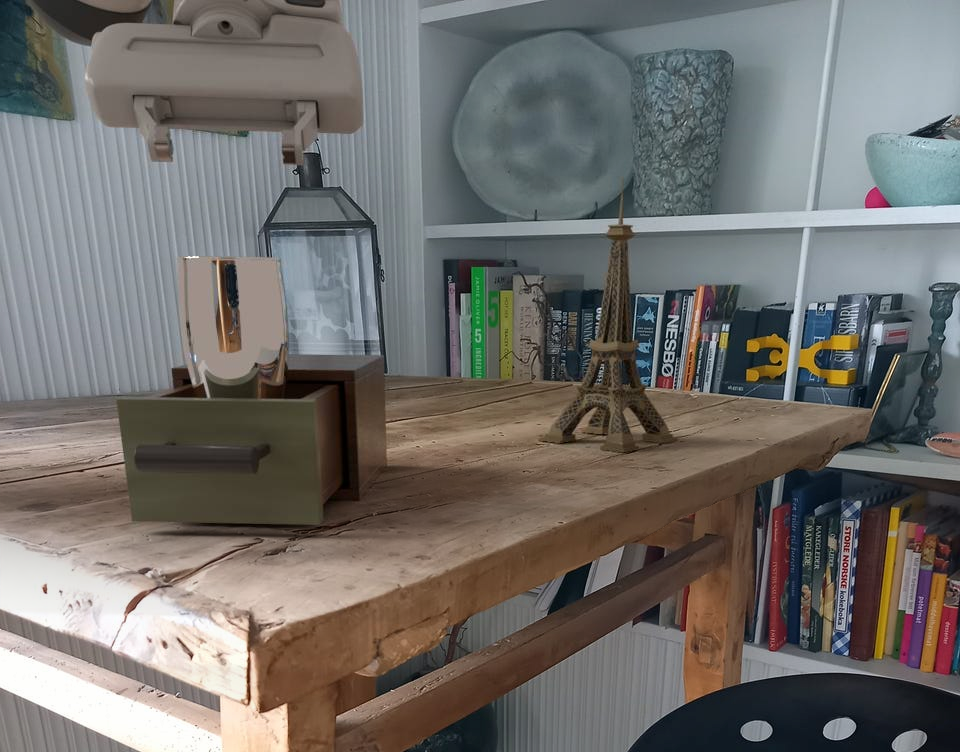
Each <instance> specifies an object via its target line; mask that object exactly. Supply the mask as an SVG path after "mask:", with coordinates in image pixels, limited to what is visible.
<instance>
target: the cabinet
mask: <svg viewBox="0 0 960 752" xmlns="http://www.w3.org/2000/svg"><path fill="white" fill-rule="evenodd" d="M170 370H171V371H170V372H171V378H172V389H175V388H178V387H181V386H185V385H188V384H191V383H192V382H191V379H190V375H189V371H188V367H187V363H186V364H182V365H179V366H175V367H171V369H170ZM385 381H386V380H385V356H384V355H383V354H312V353H311V354H307V353H306V354H301V353H297V354H295V353H291V354H290V353H289V361H288V374H287V382H327V383H343V399H344V422H345V444H346V466H347V468H346V469H347V479H346V480H345V481H344V483H343V484H342V485H341V486H340V487H339V488H338V489H337V490H336V491H335V492H334V493H333V494H332V495H331V497H330V498H329V499H328V500H330V501H331V500H332V501H333V500H335V501H361V499H362V498H363V497H364V495H365V494H366V493H367V491H368V490H369V489H370V487H371V486H372V485H373V484H374V483H375V481H376V480H377V479H378V477H379V476H380V475H381V473H382V472H383V471H384V470H385V468H386V467H387V466H388V457H387V455H388V452H387V451H388V450H387V418H386V414H387V413H386V386H385V385H386V384H385ZM328 500H327V501H328Z"/></svg>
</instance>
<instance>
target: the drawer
mask: <svg viewBox="0 0 960 752" xmlns="http://www.w3.org/2000/svg"><path fill="white" fill-rule="evenodd" d="M116 408H117V415H118V423H119V431H120V438H121V439H120V440H121V446H122V453H123V460H124V461H123V462H124V471H125V476H126V484H127V492H128V501H129V508H130V514H131V516H130V517H131V521H132V522H146V523H147V522H149V523H152V522H153V523H195V524H196V523H202V524H203V523H206V524H248V525H249V524H253V525H254V524H256V525H303V526H304V525H305V526H307V525H308V526H309V525H312V526H320V525H321V524H322V523H323V522H324V504H325V503H326V502H327V501H328V499H329V498H330V497H331V495H332V494H333V493H334V492H335V491H336V490H337V489H338V488H339V487H340V486H341V485H342V484H343V483H344V481H345V480H346V479H347V469H346V468H347V466H346V444H345V422H344V399H343V383H327V382H287V384H286V393H285V399H248V398H196V397H195V393H194V390H193V386H192V383H191V384H188V385H185V386H181V387H178V388H175V389H173V388H172V389H168V390H165V391H162V392H158V393H155V394H151V395H148V396H123V397H119V398H116Z"/></svg>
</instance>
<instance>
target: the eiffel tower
mask: <svg viewBox="0 0 960 752" xmlns="http://www.w3.org/2000/svg"><path fill="white" fill-rule="evenodd" d="M624 180H625V179H624V178H622V182H621V183H622V184H621V195H620V203H619V213H618V223H617V224H608V225H607V227H608V228H609V229H608V230H607V232H605V234H604V236H605V237H606V238H608V239H610V240H611V242H610V243H611V244H610V249H609V256H608V262H607V263H608V264H607V270H606V276H605V283H604V290H603V293H602V294H603V295H602V301H601V307H600V314H599V318H598V319H599V320H598V325H597V332H596V338H595V340H594V339H590V341H589V344H588V349H591V357H590V360H589V363H588V366H587V370H586V373H585V375H584V378H583V379H582V381H581V383H580V385H575V386H576V389H577V391H578V392H577V393H576V395H575V396H574V397H573V399H571V401H570V402H569V403H568V404H567V406H566V407H565V408H564V409H563V411H562V412H561V413H560V414H559V416H558V418H557V419H556V420H555V421H554V422H553V424H551V426H550V428H549V431H548V433H547V434H544V436H542V437H538V442H542V441H547V442H546V443H549V442H555V443H554V444H557V443H562V444H564V443H563V442H567V443H569V442H568V441H572V442H574V441H573V440H575V441H576V434H575V433H573V432H574V431H575V430H576V428H577V427H578V426H579V424H580V423H581V422H582V420H583V419H584V417H585V416H586V415H587V414H588V413H590V412H591V411H593V409H595V410H594V412H593V414H592V415H591V417H590V418H589V420H588V422H587V426H585V427H584V429H581V433H582V432H590V433H595V434H605V433H607V435H606V441H604V442H603V445H600V450H601V449H602V450H601V451H607V450H609V451H608V452H616V453H622V452H625V453H629V452H633V450H634V451H637V450H640V446H639V445H636V441H634V436H633V434H632V432H631V431H632V430H631V429H630V426H629V424H628V422H627V419H626V416H625V415H624V411H625V410H626V409H627V408H628V409H629V411H631V412H632V413H633V414H634V416H635V417H636V418H637V420H638V422H639V424H640V425H641V427H642V428H643V430H644V432H645V433H642V437H641V438H642V439H641V441H642V442H643V441H644V442H651V443H652V442H653V443H658V444H667V443H668V444H669V443H671V442H672V443H673V442H676V441H679V437H678V436H674V434H673V433H670V430H669V427H668V424H667V423H666V422H665V420H664V418H663V417H662V416H661V414H660V413H659V411H658V410H657V408H656V407H655V406H654V404H653V403H652V401H651V400H650V398H649V397H648V396H647V394H646V393H645V391H646V389H647V386H648V384H643V382H642V379H641V377H640V374H639V369H638V364H637V360H636V354H635V353H636V350H637V349H639V348H640V345H639V339H633V326H632V323H633V322H632V308H631V307H632V306H631V305H632V304H631V285H630V264H629V262H630V261H629V244H628V241H629V240H630V239H632V238H634V237H635V236H636V234H635V233H634V231H633V230H632V228H633V227H634V225H632V224H624ZM603 361H604V366H603V370H602V371H603V372H602V377H601V382H600V383H598V384H596V382H597V380H598V378H599V374H600V371H601V367H602V364H603ZM622 361H623V364H624V370H625V376H626V380H627V382H628V384H623V372H622V371H623V370H622V368H623V367H622ZM595 434H594V435H595ZM628 451H629V452H628Z"/></svg>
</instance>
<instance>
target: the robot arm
mask: <svg viewBox="0 0 960 752" xmlns="http://www.w3.org/2000/svg"><path fill="white" fill-rule="evenodd" d="M27 2H28V4H29V5H30V7H32V9H33V10H34V11H35V13H36V14H37V15H38V16H39V17H40V19H42V21H43V22H44V23H45V24H46V25H47V26H48V27H50V28H51V29H52V30H53V31H54V32H56V33H57V34H58V35H59V36H61V37H63V38H64V39H65V40H68V41H70V42H72V43H74V44H78V45H82V46H85V47H90V55H89V57H88V61H87V64H86V68H85V73H84V84H85V89H86V93H87V96H88V100H89V104H90V107H91V109H92V111H93V114H94V115H95V118H97V119H98V121H100V123H102V124H103V125H104V126H106V127H109V128H121V129H122V128H123V129H125V128H126V129H128V128H129V129H139V132H140V134H141V136H142V137H143V138H144V140H145V141H146V144H147V145H146V146H147V149H148V153H149V159H150V161H151V163H152V162H153V163H173V161H174V157H173V155H174V144H173V140H172V138H171V135H172V134H171V131H170V130H195V131H198V130H199V131H232V132H235V131H236V132H266V133H267V132H268V133H270V132H272V133H280V137H281V141H280V148H281V155H282V165H288V166H289V165H290V166H291V165H292V166H293V165H294V166H304V152H306V151H307V149H308V148H310V147H311V145H312V144H313V143H314V142H316V140H318V138H319V137H318V135H319V134H340V135H353V134H355V133H356V132H357V131H358V130H359V129H361V127H362V126H363V125H364V97H363V96H364V93H363V92H364V91H363V79H362V72H361V66H360V65H361V64H360V60H359V56H358V52H357V49H356V45H355V43H354V39H353V38H352V35H351V34H350V33H349V31H348V30H347V29H346V28H345V27H344V19H343V12H342V8H341V3H340V0H173V13H172V24H168V23H167V24H166V23H165V24H164V23H163V24H162V23H144V20H145V18H146V17H147V14H148V12H149V9H150V7H151V5H152V2H153V0H27Z"/></svg>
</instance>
